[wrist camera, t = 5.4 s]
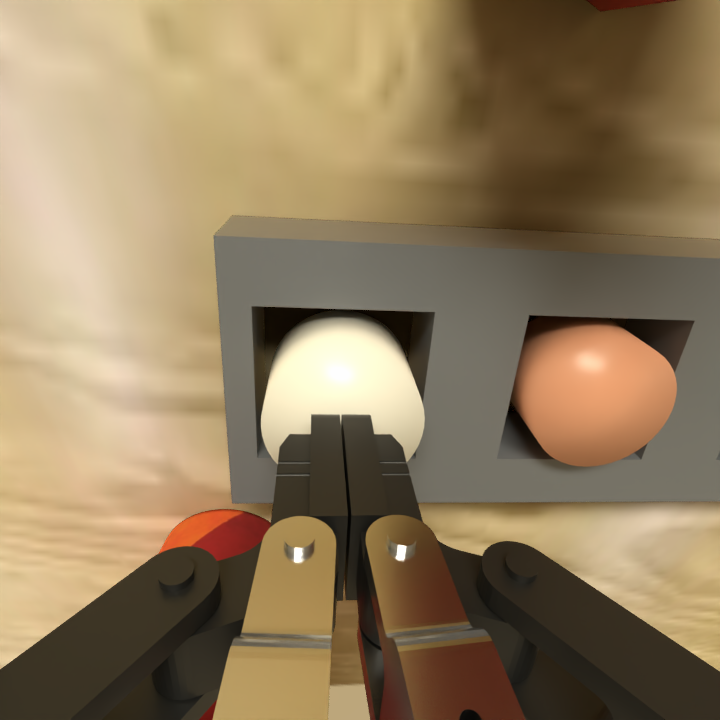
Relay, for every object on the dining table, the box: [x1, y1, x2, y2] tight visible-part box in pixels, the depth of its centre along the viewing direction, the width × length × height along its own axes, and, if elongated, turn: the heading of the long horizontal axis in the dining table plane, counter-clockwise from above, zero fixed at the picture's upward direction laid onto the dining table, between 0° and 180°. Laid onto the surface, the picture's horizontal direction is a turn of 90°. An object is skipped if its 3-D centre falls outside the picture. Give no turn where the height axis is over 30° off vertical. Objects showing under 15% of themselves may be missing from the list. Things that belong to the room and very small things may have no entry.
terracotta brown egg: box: [510, 316, 677, 467], centre depth 16 cm, size 4×4×3 cm
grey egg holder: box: [214, 216, 720, 503], centre depth 17 cm, size 23×9×3 cm, turn 87°
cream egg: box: [261, 310, 425, 465], centre depth 14 cm, size 4×4×3 cm
